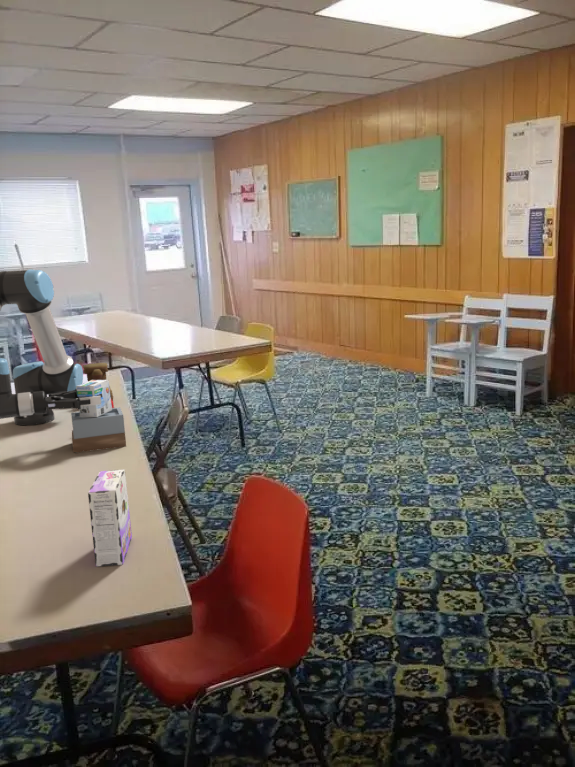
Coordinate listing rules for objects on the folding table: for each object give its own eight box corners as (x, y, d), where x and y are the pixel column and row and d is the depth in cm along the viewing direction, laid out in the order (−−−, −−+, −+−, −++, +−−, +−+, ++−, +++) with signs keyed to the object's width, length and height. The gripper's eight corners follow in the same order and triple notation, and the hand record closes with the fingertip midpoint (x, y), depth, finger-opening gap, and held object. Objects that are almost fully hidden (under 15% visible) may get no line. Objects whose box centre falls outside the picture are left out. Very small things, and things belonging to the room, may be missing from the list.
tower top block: (73, 430, 238) (71, 412, 237) (121, 424, 243) (120, 407, 242) (74, 439, 227) (71, 420, 226) (124, 432, 232) (123, 414, 230)
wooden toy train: (85, 400, 310) (81, 364, 307) (111, 398, 313) (107, 361, 310) (87, 409, 291) (83, 371, 288) (115, 406, 295) (111, 368, 292)
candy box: (106, 540, 156) (98, 470, 152) (132, 538, 156) (125, 468, 153) (94, 567, 142) (86, 491, 139) (123, 565, 142) (115, 489, 139)
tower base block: (73, 444, 240) (72, 430, 239) (123, 438, 244) (122, 424, 243) (73, 454, 227) (72, 439, 226) (126, 447, 232) (124, 433, 231)
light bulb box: (97, 417, 228) (93, 385, 226) (79, 417, 229) (75, 386, 227) (112, 409, 238) (109, 379, 236) (95, 410, 240) (91, 379, 237)
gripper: (35, 407, 239) (98, 400, 245) (33, 422, 216) (103, 414, 222) (33, 385, 238) (96, 379, 244) (30, 399, 214) (100, 391, 221)
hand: (99, 396), depth 233 cm, fingers open, 13 cm apart
